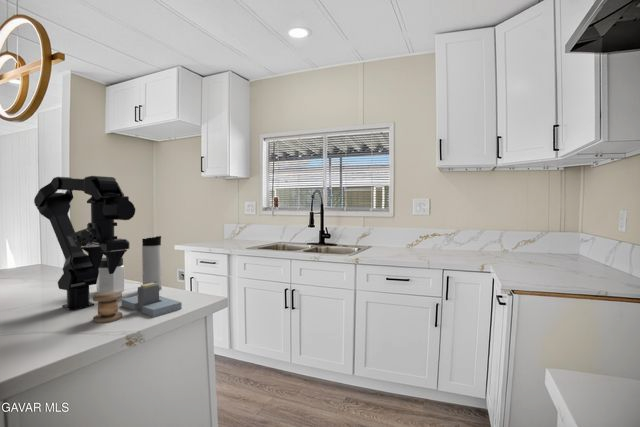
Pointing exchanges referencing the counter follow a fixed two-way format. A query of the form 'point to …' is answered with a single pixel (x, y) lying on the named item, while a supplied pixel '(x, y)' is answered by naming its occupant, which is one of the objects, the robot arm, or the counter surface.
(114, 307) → the bobbin
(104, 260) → the jar
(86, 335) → the counter surface
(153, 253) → the travel mug
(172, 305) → the notched board
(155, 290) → the grey block
